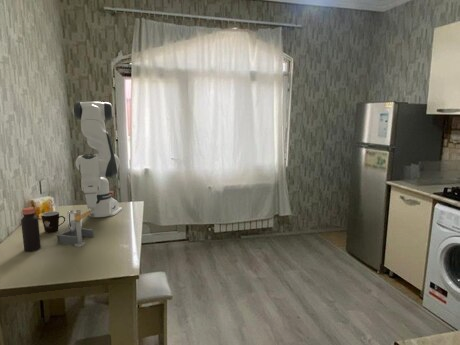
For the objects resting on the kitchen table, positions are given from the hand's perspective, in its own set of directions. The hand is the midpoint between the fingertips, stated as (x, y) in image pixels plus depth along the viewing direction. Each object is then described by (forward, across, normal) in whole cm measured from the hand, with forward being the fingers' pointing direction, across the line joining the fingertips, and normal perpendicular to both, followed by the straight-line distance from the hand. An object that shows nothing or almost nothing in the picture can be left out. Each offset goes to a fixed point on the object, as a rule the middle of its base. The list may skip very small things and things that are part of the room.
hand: (92, 212), depth 162 cm
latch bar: (+3, +2, -3) cm, 5 cm away
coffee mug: (+13, -18, -21) cm, 31 cm away
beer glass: (+14, -1, -8) cm, 16 cm away
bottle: (+14, +4, -27) cm, 31 cm away
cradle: (+14, 0, -8) cm, 16 cm away
